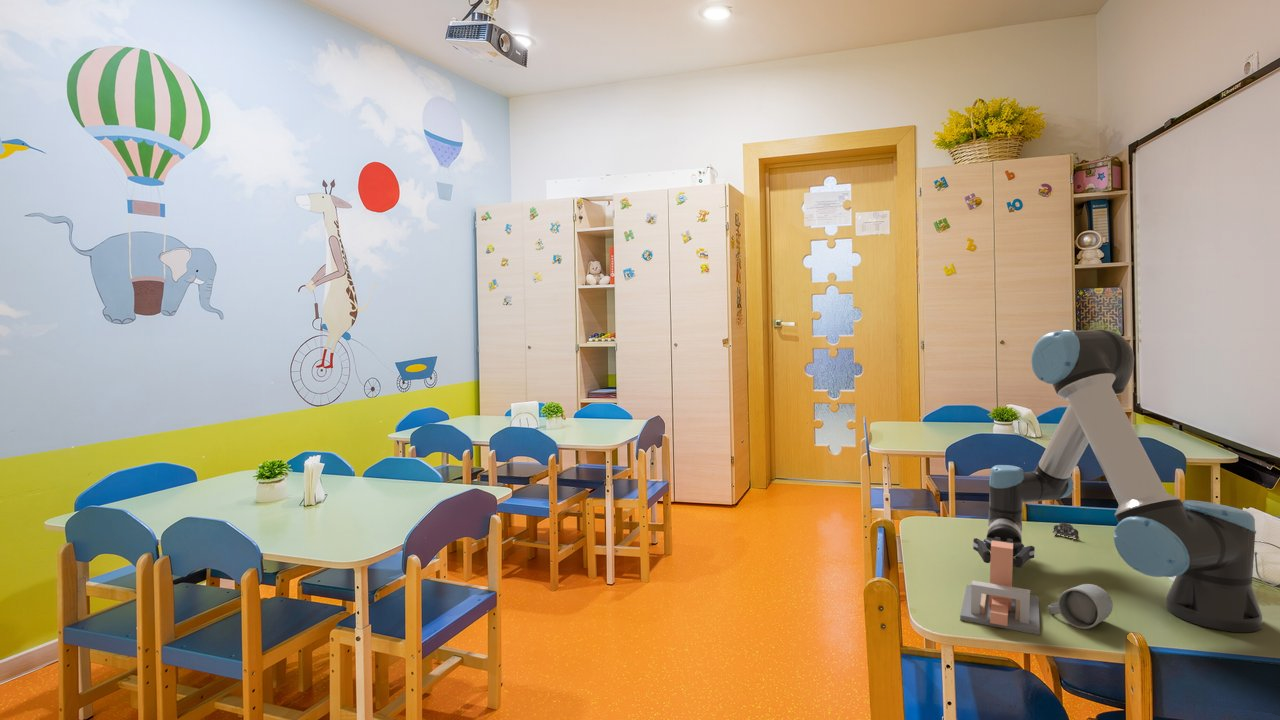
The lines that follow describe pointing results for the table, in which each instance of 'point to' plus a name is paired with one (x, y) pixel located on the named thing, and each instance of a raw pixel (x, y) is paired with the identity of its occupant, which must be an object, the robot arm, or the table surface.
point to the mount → (1019, 617)
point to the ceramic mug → (1083, 606)
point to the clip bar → (1000, 580)
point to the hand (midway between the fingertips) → (1001, 570)
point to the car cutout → (1066, 530)
